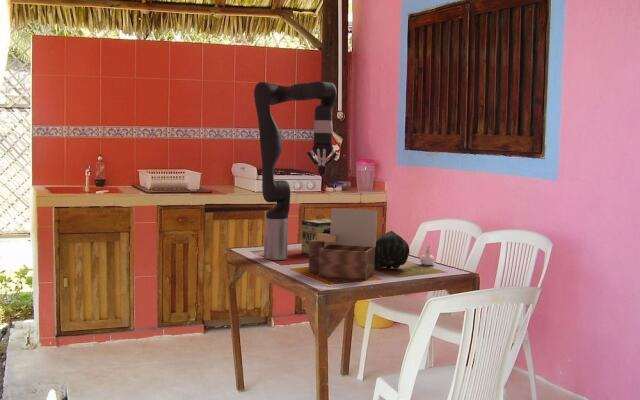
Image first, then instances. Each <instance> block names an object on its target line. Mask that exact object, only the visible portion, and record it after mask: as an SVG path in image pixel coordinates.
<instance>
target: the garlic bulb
mask: <svg viewBox="0 0 640 400" xmlns="http://www.w3.org/2000/svg"><path fill="white" fill-rule="evenodd" d="M430 247H431V246H430V245H427V246H426V250H425V252H424V254H422V255H421V256H420V258H419V262H420V264H422V265H426V266H432V265H434V264H435V262H436V259H435V257H434V255H432V254H431V248H430Z"/></svg>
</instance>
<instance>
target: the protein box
mask: <svg viewBox="0 0 640 400" xmlns="http://www.w3.org/2000/svg"><path fill="white" fill-rule="evenodd" d="M326 228H331V218H330V219H329V218H324V219H323V218H322V219H312V220H301V254H303V255H306V256H309V241H311V240H318V235H319V234H323V232H324V229H326Z"/></svg>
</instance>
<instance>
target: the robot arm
mask: <svg viewBox="0 0 640 400" xmlns="http://www.w3.org/2000/svg"><path fill="white" fill-rule="evenodd" d="M253 98H254V104H255V109H256V115H257V122H258V132H259V148H260V155H261V167H262V168H261V173H262V176H261V179H262V180H261V181H262V183H261V189H262V196H263V200H264V201H265V203H266V202H267V203H276V204H275V206H274V207H273V208H271V209H269V210H267V212H266V213H265V215H266V216H265V223H266V224H265V235H264V236H263V237H264V238H263V240H264V241H263V259H267V260H272V261H280V260H281V261H282V260H287V259H288V245H289V244H288V242H289V239H288V237H289V236H288V233H289V232H288V231H289V230H288V229H289V214H290V213H289V212H290V205H291V187H290V183H289V182H288V181H287V180H279V179H278V180H275V179H274V177H275V176H274V175H275V174H274V172H275V167H276V165H277V162H278V160H279V158H280V156H281V155H282V151H283V141H282V139H283V138H282V134H281V130H280V128H279V126H278V125H277V123H276V121H275V119H274V118H273V114H272V112H271V106H274V105H279V104H282V103H286V102H291V101H293V102H294V101H295V102H296V101H297V102H298V101H299V102H300V101H302V102H303V101H311V100H321V103H320V105H317V106H316V107H315V108H314V123H313V144H312V145H313V146H312V149H311V150H309V151H308V152H307V153H306V154H307V156H308V157H309V158H310V160H311V161H312V163H313V165H315V166H317V167H318V174H319V176H321V177H323V176H325V175H326V174H327V166H328V165H329V166H330V165H331V164H332V163H333V161H335V160H336V158H337V157H338V156H339V152H337V151H336V150H334V146H333V132H334V130H333V129H334V127H333V110H334V106H335V102H336V98H337V88H336V85H335V84H334V83H333V82H330V81H329V82H328V81H321V80H320V81H311V82H302V83H301V82H300V83H295V84H292V85H289V86H284V85H279V84H276V83H271V82H266V81H260V82H258V83H256V85H255V87H254V90H253ZM330 155H331V156H330ZM315 156H316V157H317V158H316V157H315ZM329 156H330V158H329Z"/></svg>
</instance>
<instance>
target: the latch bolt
mask: <svg viewBox="0 0 640 400" xmlns="http://www.w3.org/2000/svg"><path fill="white" fill-rule="evenodd" d="M318 241H323V242H337V241H338V234H319V235H318Z"/></svg>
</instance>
